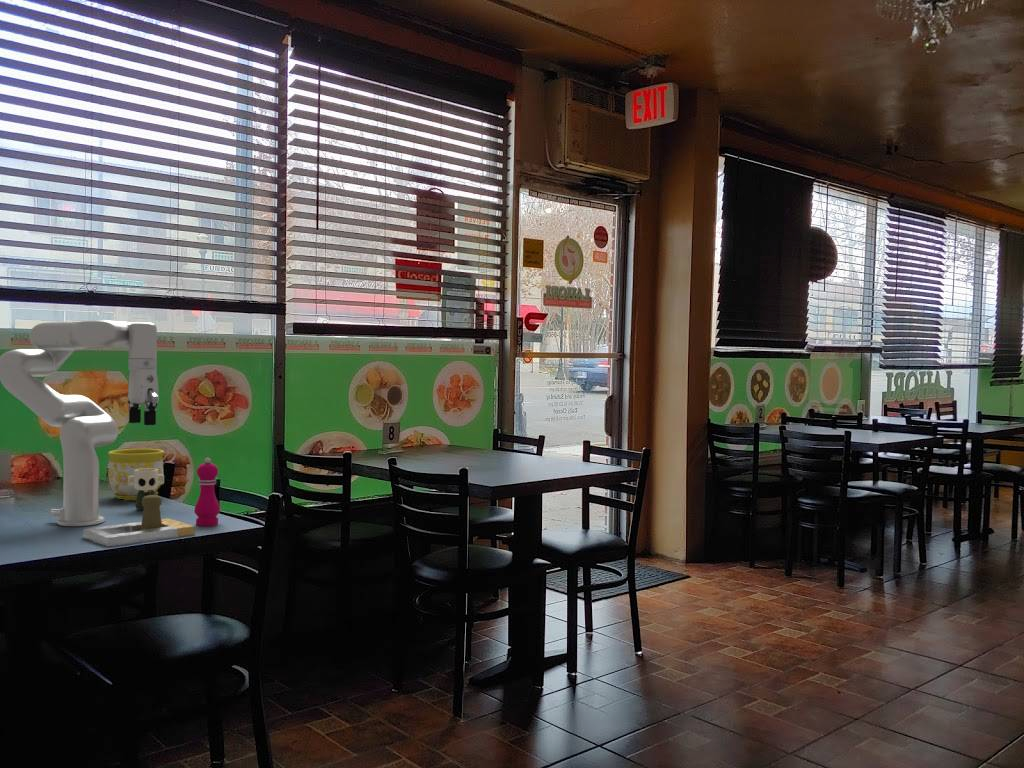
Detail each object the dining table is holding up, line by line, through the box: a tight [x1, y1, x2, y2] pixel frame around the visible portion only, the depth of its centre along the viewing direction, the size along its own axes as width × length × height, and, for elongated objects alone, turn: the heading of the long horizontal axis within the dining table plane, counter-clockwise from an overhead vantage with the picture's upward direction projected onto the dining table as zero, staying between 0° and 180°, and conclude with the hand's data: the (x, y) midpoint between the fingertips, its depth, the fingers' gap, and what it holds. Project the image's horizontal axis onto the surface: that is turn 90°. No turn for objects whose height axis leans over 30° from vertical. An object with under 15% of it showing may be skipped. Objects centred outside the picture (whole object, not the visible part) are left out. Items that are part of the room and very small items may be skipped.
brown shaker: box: [141, 494, 163, 531], centre depth 247 cm, size 6×6×11 cm
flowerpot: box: [107, 448, 165, 501], centre depth 308 cm, size 18×18×16 cm
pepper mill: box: [194, 457, 221, 527], centre depth 263 cm, size 7×7×20 cm
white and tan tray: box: [82, 518, 196, 548], centre depth 245 cm, size 24×16×2 cm, turn 137°
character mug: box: [128, 468, 165, 510], centre depth 286 cm, size 11×7×13 cm, turn 118°
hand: (142, 423), depth 256 cm, fingers open, 9 cm apart
